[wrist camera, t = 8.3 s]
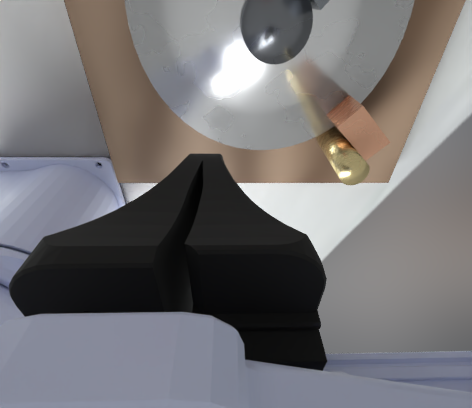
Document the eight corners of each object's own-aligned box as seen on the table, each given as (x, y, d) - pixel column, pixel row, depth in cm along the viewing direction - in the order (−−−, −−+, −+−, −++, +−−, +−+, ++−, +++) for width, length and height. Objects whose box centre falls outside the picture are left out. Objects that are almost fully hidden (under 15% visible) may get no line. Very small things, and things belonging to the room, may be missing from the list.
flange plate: (78, 25, 14) (35, 33, 11) (323, -456, 8) (393, -781, 4) (278, 194, 21) (287, 229, 18) (498, 20, 15) (573, 27, 11)
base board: (124, 172, 22) (118, 182, 21) (-23, -366, 9) (-61, -420, 8) (379, 172, 22) (388, 182, 21) (577, -332, 10) (625, -378, 9)
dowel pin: (314, 146, 19) (336, 185, 15) (318, 124, 18) (343, 159, 14) (336, 146, 19) (364, 185, 15) (342, 124, 18) (373, 159, 14)
